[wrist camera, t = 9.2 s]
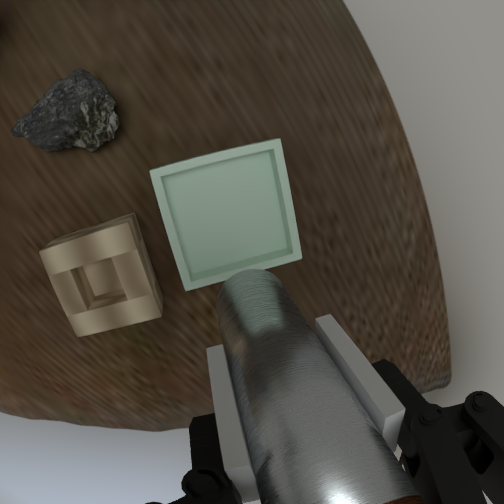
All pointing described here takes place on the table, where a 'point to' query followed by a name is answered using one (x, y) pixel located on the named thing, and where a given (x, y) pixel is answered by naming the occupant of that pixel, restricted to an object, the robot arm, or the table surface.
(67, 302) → the block
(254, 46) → the table surface
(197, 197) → the tray
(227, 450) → the robot arm
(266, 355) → the pin
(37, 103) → the rock
